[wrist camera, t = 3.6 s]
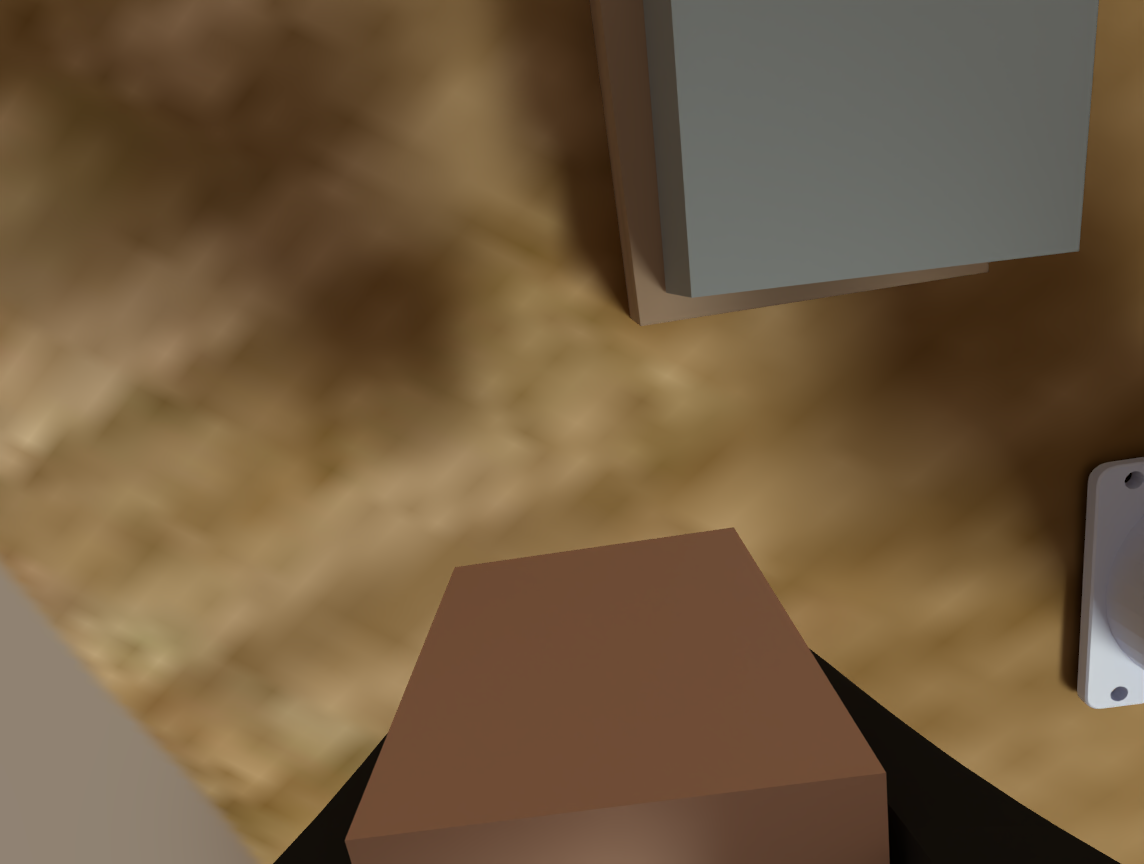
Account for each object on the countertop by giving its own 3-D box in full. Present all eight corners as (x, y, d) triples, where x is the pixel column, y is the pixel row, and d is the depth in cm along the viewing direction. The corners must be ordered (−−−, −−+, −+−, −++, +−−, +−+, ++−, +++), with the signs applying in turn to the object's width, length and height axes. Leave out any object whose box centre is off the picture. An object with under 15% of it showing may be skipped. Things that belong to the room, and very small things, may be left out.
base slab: (912, -65, 15) (993, -144, 12) (917, 271, 17) (988, 271, 14) (586, -8, 15) (590, -72, 13) (628, 316, 17) (640, 326, 15)
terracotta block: (733, 527, 10) (886, 773, 5) (756, 762, 11) (900, 1148, 6) (454, 567, 10) (344, 841, 5) (505, 795, 11) (452, 1194, 6)
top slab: (988, -107, 12) (1116, -223, 10) (973, 255, 14) (1078, 251, 11) (638, -62, 13) (659, -161, 10) (666, 292, 14) (691, 298, 11)
